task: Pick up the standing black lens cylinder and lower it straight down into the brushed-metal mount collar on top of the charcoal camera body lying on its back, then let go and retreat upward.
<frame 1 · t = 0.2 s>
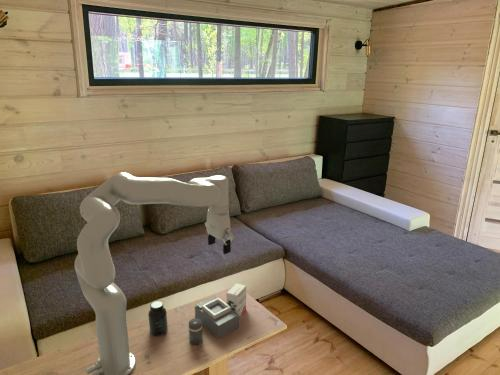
hand: (219, 248, 146), 31 cm above the table, fingers open, 9 cm apart
lens: (196, 340, 141), on the table
ink box: (236, 313, 157), on the table
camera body: (216, 322, 150), on the table
supplement bottle: (158, 330, 146), on the table
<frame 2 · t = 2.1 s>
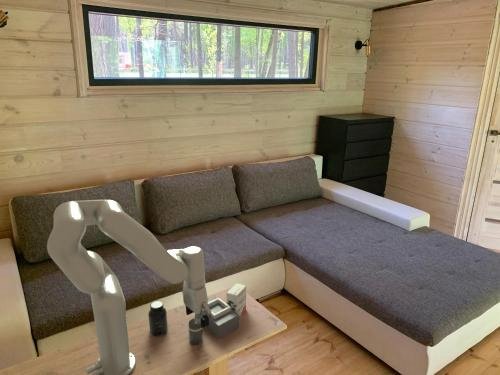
hand: (197, 319, 138), 9 cm above the table, fingers open, 9 cm apart
nothing on the table moved.
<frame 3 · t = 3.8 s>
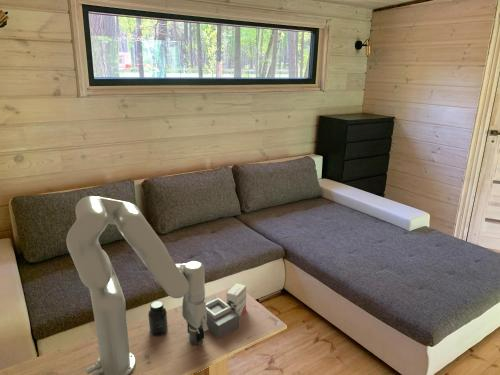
hand: (195, 335, 140), 2 cm above the table, fingers closed on lens, 5 cm apart
lens: (196, 340, 141), on the table, touching gripper
everything else where it was.
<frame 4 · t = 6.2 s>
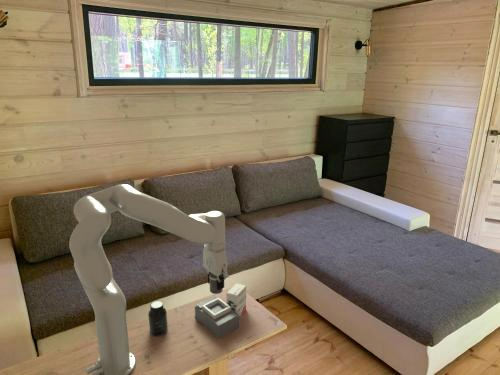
hand: (216, 285, 145), 18 cm above the table, fingers closed on lens, 5 cm apart
lens: (216, 290, 145), point 15 cm above the table, touching gripper
everything else where it was.
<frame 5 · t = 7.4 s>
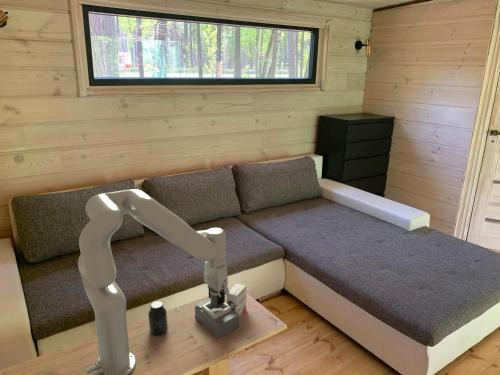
hand: (216, 299, 147), 11 cm above the table, fingers closed on lens, 5 cm apart
lens: (216, 304, 148), point 9 cm above the table, touching gripper
everything else where it was.
when the fingers open (9 cm above the table, at t = 8.5 s): lens stays where it is, resting on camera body.
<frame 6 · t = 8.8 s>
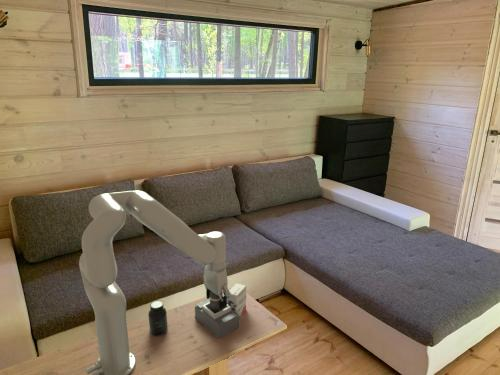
hand: (216, 302, 147), 10 cm above the table, fingers open, 8 cm apart
lens: (216, 310, 148), point 6 cm above the table, touching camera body
everything else where it was.
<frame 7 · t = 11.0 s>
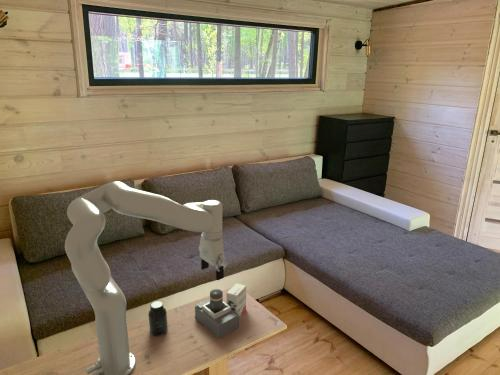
hand: (212, 273, 143), 23 cm above the table, fingers open, 9 cm apart
nothing on the table moved.
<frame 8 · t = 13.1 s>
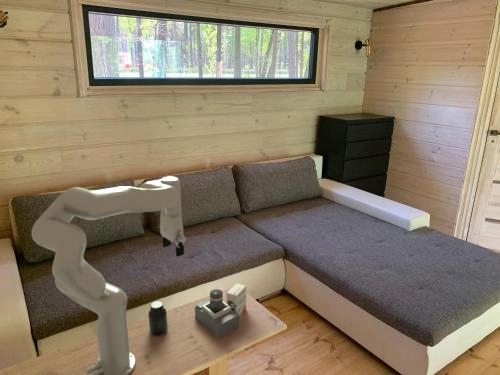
hand: (173, 250, 144), 30 cm above the table, fingers open, 9 cm apart
nothing on the table moved.
at the end: lens 0.0 cm off-centre on the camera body, point 6.0 cm above the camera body's base; lens tilted 0°; the gripper is holding nothing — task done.
